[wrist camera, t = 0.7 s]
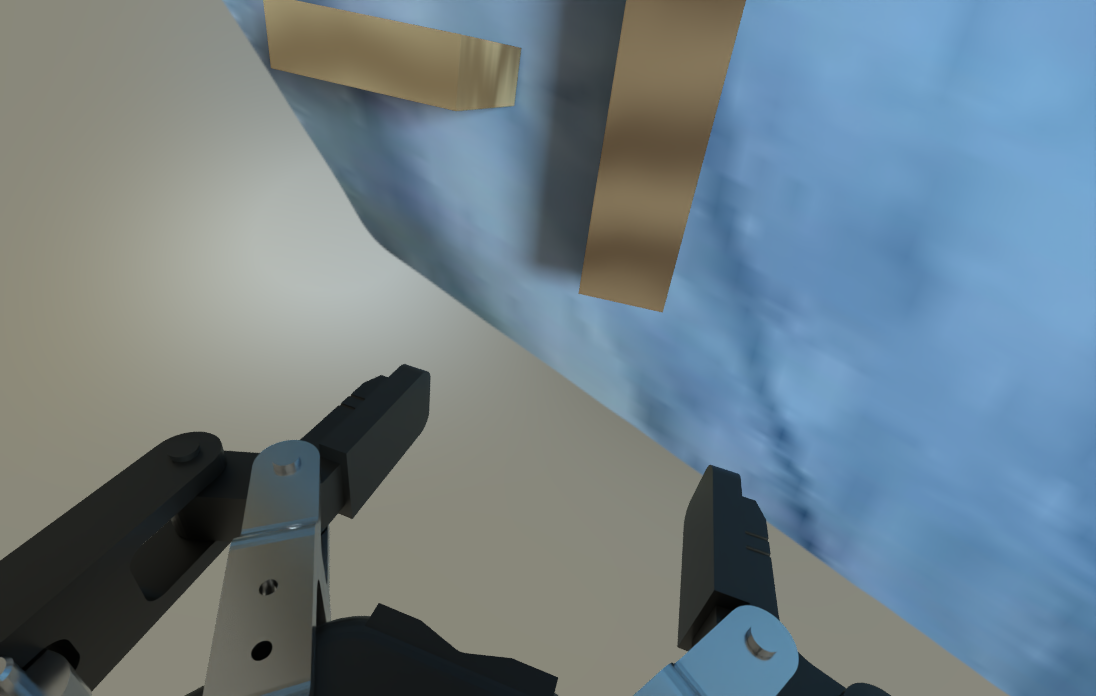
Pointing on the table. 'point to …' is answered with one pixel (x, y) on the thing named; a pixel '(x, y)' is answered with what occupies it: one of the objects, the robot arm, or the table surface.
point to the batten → (655, 143)
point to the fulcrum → (391, 56)
